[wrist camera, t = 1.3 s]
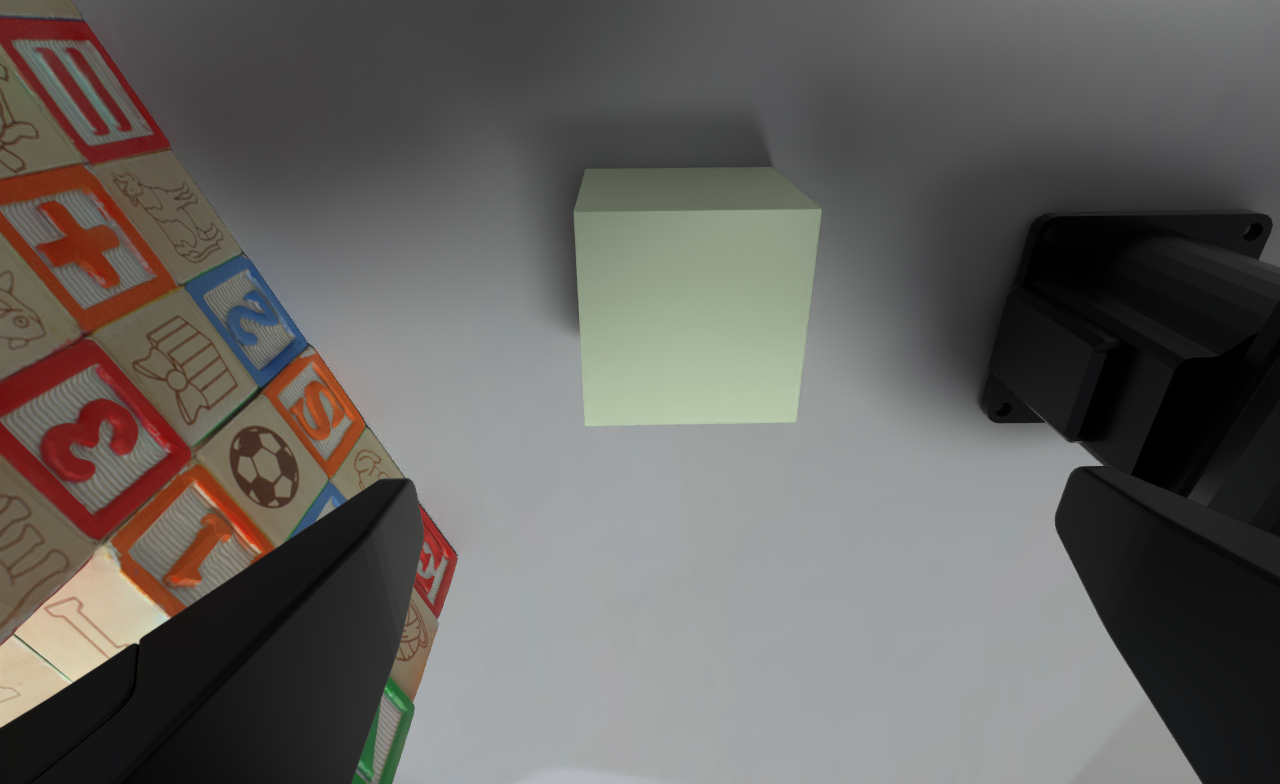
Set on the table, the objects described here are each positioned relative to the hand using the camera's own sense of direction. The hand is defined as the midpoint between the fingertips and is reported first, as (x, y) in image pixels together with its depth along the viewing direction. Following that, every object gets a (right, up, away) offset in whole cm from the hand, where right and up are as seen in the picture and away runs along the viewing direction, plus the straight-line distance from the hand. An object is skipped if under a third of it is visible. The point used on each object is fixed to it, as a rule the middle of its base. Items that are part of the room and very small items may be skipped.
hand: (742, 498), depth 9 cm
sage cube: (0, +5, +10) cm, 11 cm away
